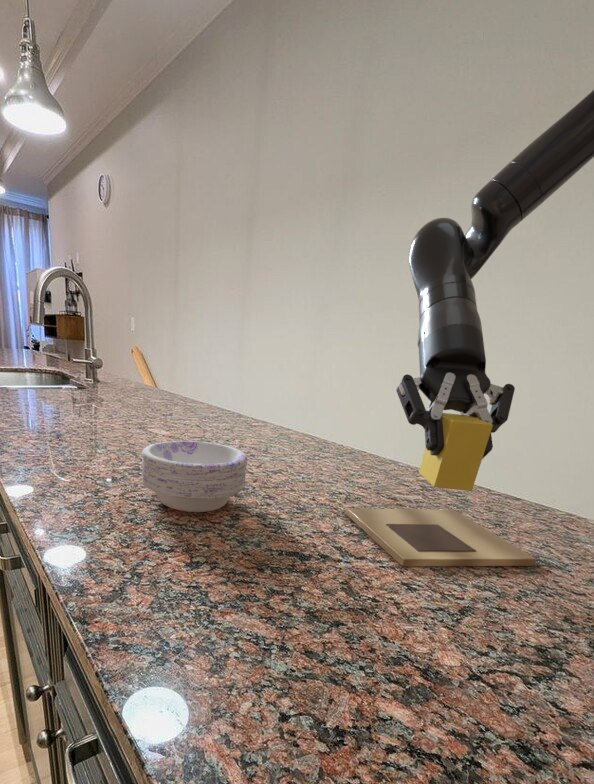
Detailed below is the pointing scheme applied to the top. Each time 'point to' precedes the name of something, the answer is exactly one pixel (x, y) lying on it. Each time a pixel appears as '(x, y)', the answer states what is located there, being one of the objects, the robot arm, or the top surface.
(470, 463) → the yellow block
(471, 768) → the top surface
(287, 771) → the top surface
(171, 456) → the paper bowls
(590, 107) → the robot arm
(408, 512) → the board
